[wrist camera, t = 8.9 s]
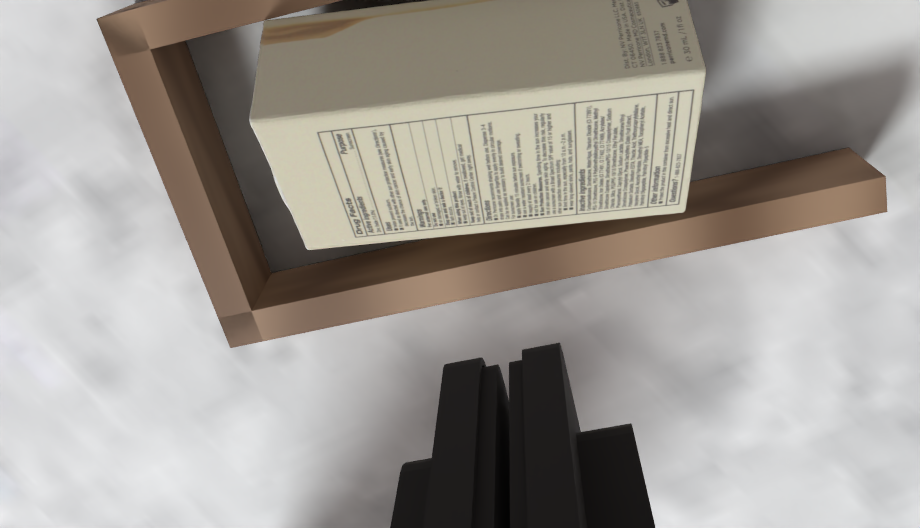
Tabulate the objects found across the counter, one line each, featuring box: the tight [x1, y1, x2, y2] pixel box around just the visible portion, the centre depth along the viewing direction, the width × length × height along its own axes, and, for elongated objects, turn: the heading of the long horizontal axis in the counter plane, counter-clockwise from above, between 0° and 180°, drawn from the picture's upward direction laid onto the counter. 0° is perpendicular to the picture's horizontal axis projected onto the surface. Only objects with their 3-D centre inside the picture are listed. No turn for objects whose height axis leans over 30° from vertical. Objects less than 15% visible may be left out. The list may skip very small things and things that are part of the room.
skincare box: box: [249, 0, 706, 250], centre depth 26 cm, size 6×4×12 cm
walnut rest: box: [97, 0, 887, 348], centre depth 28 cm, size 22×11×3 cm, turn 104°
